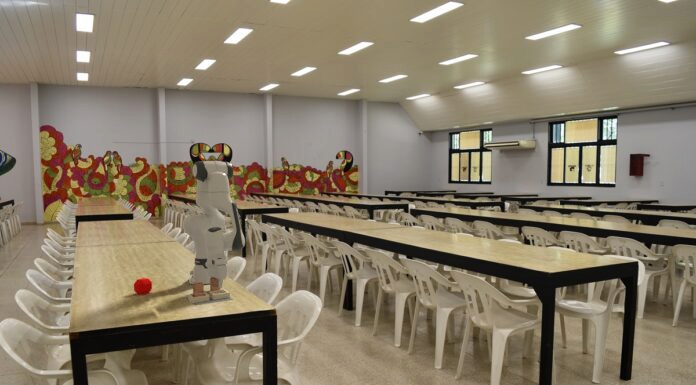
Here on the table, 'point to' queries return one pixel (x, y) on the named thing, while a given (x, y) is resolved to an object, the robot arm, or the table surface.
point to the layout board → (210, 297)
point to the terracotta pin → (214, 284)
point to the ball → (142, 286)
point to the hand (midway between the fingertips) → (217, 286)
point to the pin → (198, 289)
